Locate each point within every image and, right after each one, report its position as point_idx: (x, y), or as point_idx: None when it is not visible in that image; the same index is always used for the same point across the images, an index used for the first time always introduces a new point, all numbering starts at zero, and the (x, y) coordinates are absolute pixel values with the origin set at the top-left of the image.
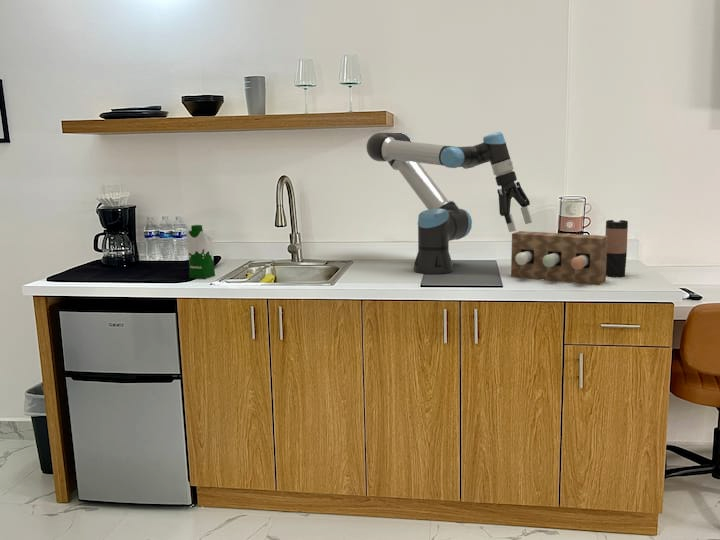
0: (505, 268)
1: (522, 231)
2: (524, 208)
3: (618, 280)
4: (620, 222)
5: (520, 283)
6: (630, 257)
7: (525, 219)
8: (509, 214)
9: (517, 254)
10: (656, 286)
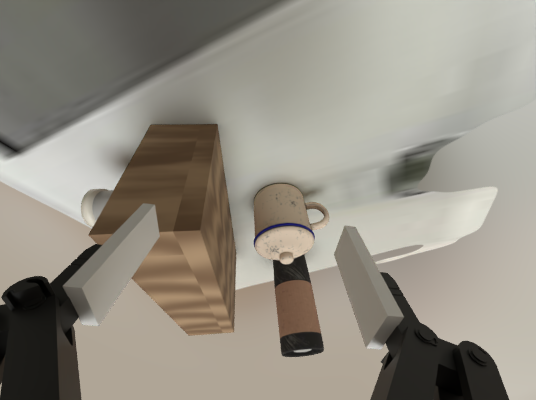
0: (283, 43)
1: (194, 239)
2: (370, 324)
3: (250, 259)
4: (284, 355)
5: (97, 173)
6: (473, 231)
7: (349, 249)
8: (80, 317)
9: (82, 210)
10: (235, 283)
